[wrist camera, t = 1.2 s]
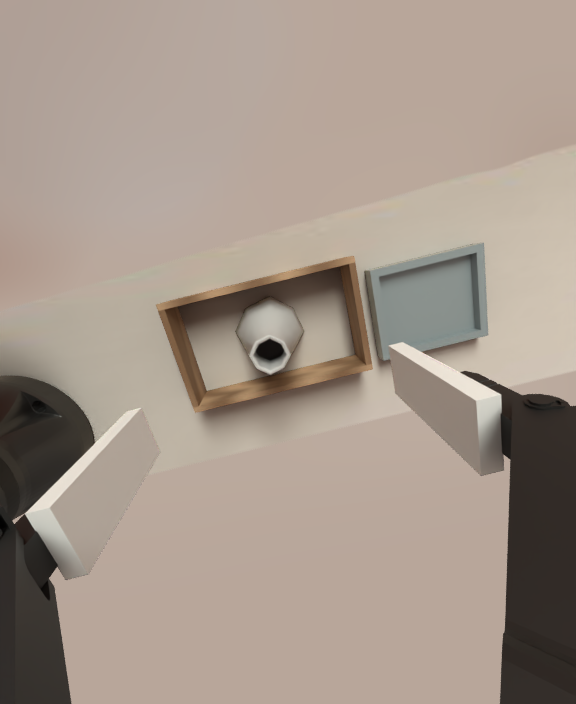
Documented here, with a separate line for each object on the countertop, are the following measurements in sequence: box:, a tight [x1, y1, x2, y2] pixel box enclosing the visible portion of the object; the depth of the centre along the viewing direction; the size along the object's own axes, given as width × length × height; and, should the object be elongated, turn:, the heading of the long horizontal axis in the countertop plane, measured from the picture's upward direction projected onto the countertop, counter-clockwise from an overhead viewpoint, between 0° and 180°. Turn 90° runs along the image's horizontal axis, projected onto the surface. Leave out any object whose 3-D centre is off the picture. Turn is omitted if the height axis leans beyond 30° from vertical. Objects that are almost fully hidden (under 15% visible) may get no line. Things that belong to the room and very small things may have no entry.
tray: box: [365, 243, 488, 361], centre depth 32 cm, size 12×10×2 cm
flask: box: [235, 296, 304, 375], centre depth 28 cm, size 7×7×10 cm
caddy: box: [156, 256, 373, 413], centre depth 31 cm, size 19×12×4 cm, turn 103°
